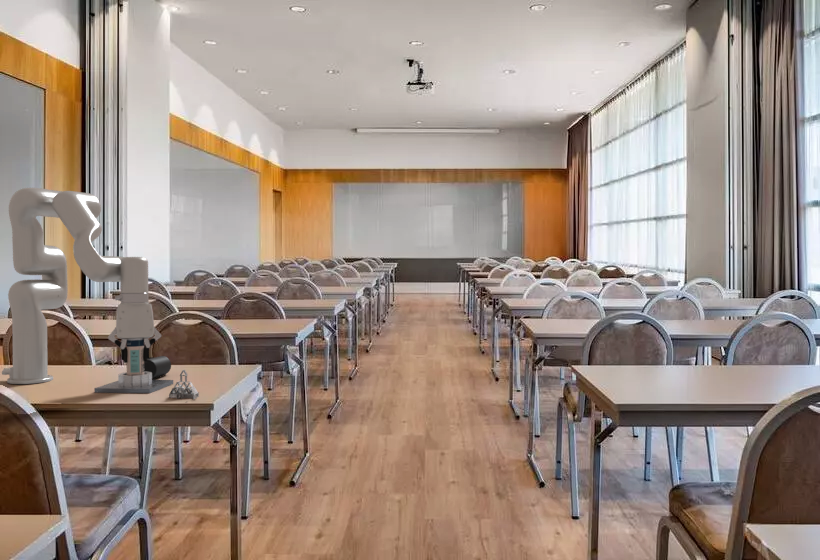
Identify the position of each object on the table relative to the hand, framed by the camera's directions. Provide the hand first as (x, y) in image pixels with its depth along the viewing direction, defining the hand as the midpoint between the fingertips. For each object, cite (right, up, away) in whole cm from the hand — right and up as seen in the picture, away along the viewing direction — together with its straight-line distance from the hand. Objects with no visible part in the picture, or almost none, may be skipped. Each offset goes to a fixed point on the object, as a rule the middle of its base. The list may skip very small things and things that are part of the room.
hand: (135, 361), depth 204 cm
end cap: (-1, -8, +18) cm, 20 cm away
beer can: (0, -5, 0) cm, 5 cm away
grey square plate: (0, -8, 0) cm, 8 cm away
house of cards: (+18, -9, -16) cm, 25 cm away
